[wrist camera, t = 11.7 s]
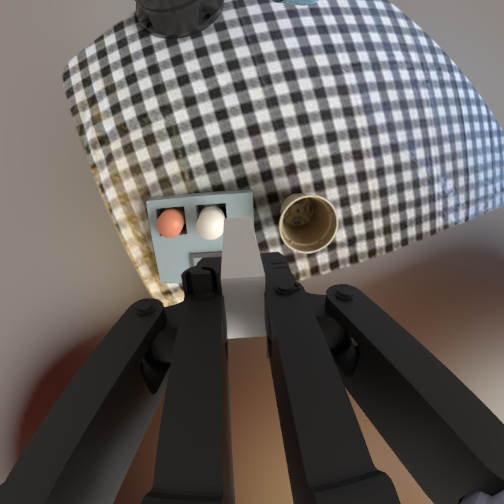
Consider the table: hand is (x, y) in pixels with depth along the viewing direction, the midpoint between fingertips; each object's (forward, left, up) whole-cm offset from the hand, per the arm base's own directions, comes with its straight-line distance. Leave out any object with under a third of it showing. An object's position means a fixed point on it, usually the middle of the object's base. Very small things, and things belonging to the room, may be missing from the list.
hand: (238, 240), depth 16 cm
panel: (+12, -6, -32) cm, 35 cm away
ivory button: (+8, -4, -30) cm, 31 cm away
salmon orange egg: (+8, -11, -32) cm, 35 cm away
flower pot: (+8, +11, -33) cm, 35 cm away
